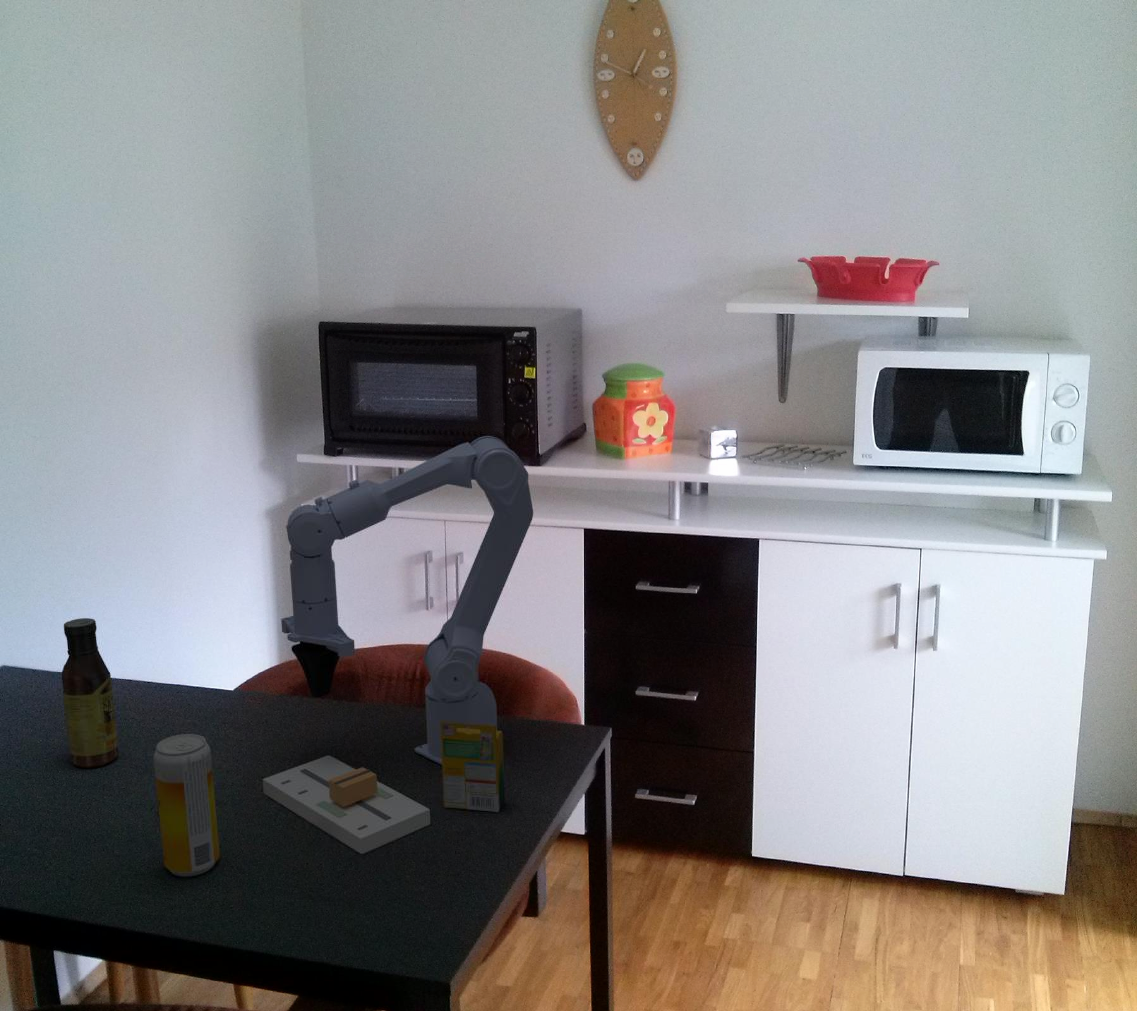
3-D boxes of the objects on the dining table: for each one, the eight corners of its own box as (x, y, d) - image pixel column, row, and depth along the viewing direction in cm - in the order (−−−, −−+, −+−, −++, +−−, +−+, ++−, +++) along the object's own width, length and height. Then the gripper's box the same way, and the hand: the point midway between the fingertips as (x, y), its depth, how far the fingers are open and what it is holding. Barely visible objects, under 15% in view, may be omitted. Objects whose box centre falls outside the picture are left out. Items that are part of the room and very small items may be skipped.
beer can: (200, 846, 141) (189, 728, 137) (230, 862, 137) (220, 741, 133) (154, 867, 136) (141, 745, 133) (184, 885, 132) (172, 760, 129)
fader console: (329, 768, 160) (328, 754, 160) (430, 824, 145) (429, 808, 144) (263, 793, 154) (262, 778, 153) (361, 854, 138) (360, 837, 138)
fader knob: (364, 785, 150) (362, 766, 149) (377, 793, 148) (376, 773, 147) (329, 798, 146) (328, 779, 146) (343, 807, 144) (342, 787, 144)
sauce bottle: (120, 765, 162) (105, 626, 158) (70, 773, 160) (54, 633, 156) (118, 746, 168) (104, 612, 164) (71, 754, 166) (55, 618, 162)
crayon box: (505, 802, 150) (503, 716, 148) (499, 813, 147) (496, 726, 145) (450, 797, 152) (446, 712, 149) (443, 808, 149) (439, 721, 146)
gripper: (258, 592, 158) (266, 688, 161) (318, 616, 148) (325, 718, 151) (304, 581, 163) (310, 674, 166) (365, 603, 153) (371, 702, 156)
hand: (320, 694), depth 159 cm, fingers closed
